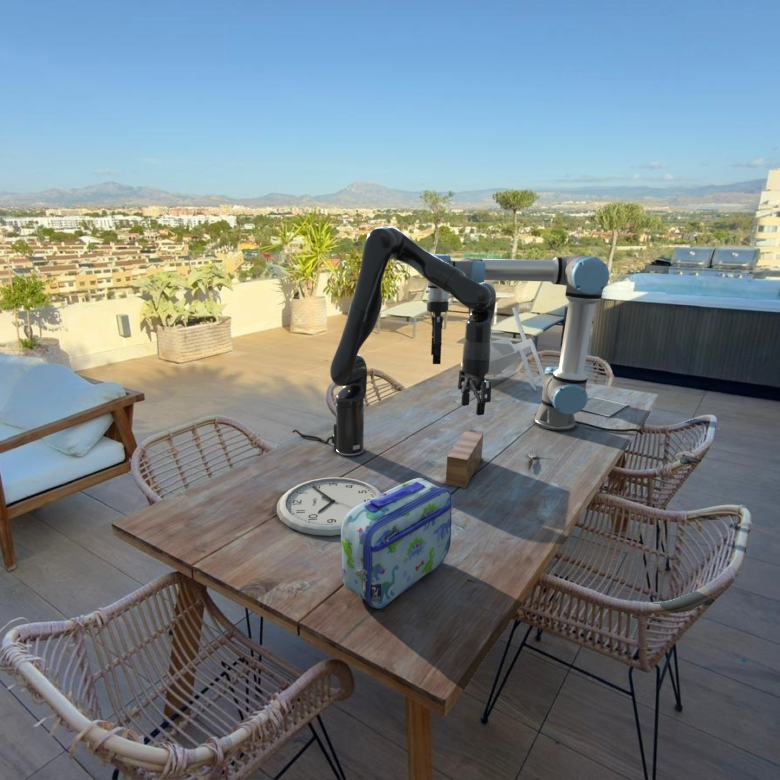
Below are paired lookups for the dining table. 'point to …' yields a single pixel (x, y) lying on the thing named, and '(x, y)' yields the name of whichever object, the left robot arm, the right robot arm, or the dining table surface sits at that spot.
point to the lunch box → (395, 540)
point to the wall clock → (323, 504)
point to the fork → (531, 457)
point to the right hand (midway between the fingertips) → (435, 359)
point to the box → (464, 459)
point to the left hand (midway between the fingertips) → (472, 410)
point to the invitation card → (603, 406)
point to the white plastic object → (513, 354)
